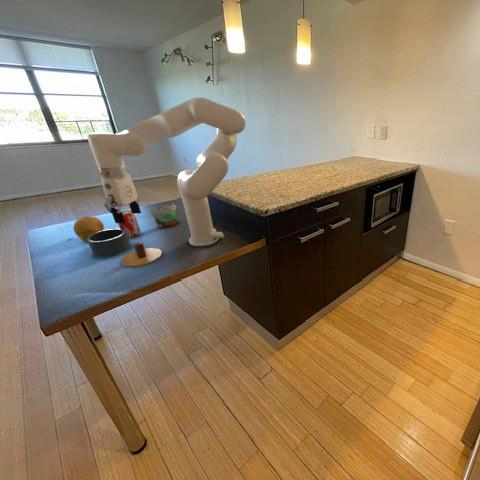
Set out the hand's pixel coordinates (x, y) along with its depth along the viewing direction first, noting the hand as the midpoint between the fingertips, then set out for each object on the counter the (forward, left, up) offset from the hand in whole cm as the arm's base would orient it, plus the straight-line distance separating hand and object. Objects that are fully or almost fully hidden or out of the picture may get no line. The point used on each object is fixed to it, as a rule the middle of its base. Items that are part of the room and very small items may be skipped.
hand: (129, 217), depth 97 cm
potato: (+32, -19, -17) cm, 41 cm away
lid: (-1, +1, -17) cm, 17 cm away
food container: (+3, -32, -17) cm, 36 cm away
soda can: (+15, -20, -17) cm, 31 cm away
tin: (+15, -6, -17) cm, 24 cm away
